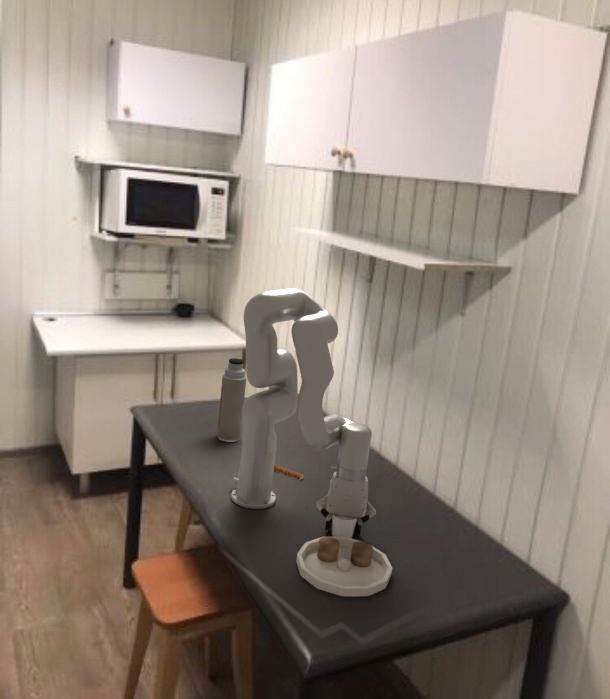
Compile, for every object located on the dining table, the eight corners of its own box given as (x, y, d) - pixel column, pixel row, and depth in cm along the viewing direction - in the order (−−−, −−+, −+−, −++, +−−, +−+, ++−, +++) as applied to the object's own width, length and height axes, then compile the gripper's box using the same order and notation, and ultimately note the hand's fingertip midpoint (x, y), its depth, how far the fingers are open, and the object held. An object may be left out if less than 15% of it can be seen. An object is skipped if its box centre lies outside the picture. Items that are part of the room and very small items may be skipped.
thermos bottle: (214, 440, 232) (221, 360, 225) (220, 432, 240) (227, 355, 233) (237, 444, 231) (245, 364, 224) (242, 435, 239) (250, 358, 232)
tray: (278, 562, 164) (279, 551, 164) (344, 538, 179) (345, 528, 178) (341, 611, 149) (343, 599, 148) (408, 581, 163) (410, 570, 162)
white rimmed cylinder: (353, 531, 183) (356, 508, 181) (355, 545, 176) (359, 520, 175) (327, 529, 183) (331, 505, 181) (329, 543, 176) (332, 518, 174)
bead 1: (312, 554, 168) (314, 540, 167) (327, 549, 171) (329, 534, 170) (326, 564, 164) (328, 549, 163) (341, 558, 167) (343, 544, 166)
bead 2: (346, 559, 167) (348, 544, 166) (360, 553, 171) (362, 539, 170) (360, 569, 164) (362, 554, 163) (374, 563, 167) (377, 549, 166)
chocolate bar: (299, 482, 209) (300, 475, 209) (266, 470, 215) (267, 464, 214) (303, 479, 212) (304, 472, 211) (270, 468, 217) (271, 461, 216)
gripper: (316, 472, 172) (308, 537, 176) (385, 482, 171) (375, 546, 175) (318, 460, 179) (310, 522, 183) (384, 470, 178) (374, 532, 182)
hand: (342, 534), depth 179 cm, fingers open, 6 cm apart
